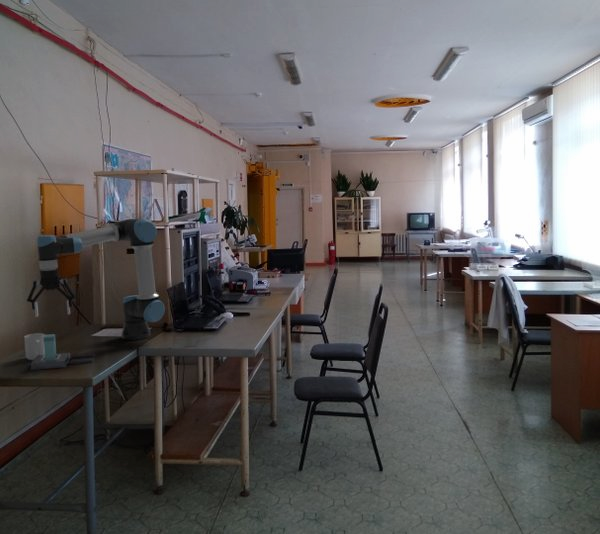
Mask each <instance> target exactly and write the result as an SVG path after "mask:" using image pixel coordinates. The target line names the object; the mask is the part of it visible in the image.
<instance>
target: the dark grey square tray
mask: <svg viewBox="0 0 600 534" xmlns="http://www.w3.org/2000/svg"><path fill="white" fill-rule="evenodd" d="M95 357H96V354H94V353H92V354H82V355H72V356H71V359H70V360H69V362H68V365H79V364H91V363H93V362H94V360H95Z"/></svg>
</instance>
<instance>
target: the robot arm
mask: <svg viewBox="0 0 600 534" xmlns="http://www.w3.org/2000/svg"><path fill="white" fill-rule="evenodd" d="M157 234H158V230H157V227H156V224H154V222H152V221H151V220H150V219H145V218H134V219H133V218H128V219H125V220H120V221H117V222H114V223H109V225H108V226H102V227H99V228H93V229H89V230H88V229H87V230H84V231H79V232H74V233H73V232H72V233H69V234H68V233H67V234H63V235H60V236H59V235H58V236H56V235H54V234H44V235H43V234H42V235H39V236H37V239H36V240H37V241H36V242H37V253H38V266H39V270H40V271H39V272H40V280H33V282H32V287H31V290H30V292H29V294H28V297H27V299H26V301H27V302H29V303H31V307H32V308H31V310H33V311H34V315H35V316H34V317H35V318H38V317H39V305H38V301H37V300H38V298H39V297H40V295H42V293H43V292H44V291H49V290H51V291H53V290H57V291H58V292H59V293H61V295H63V296H64V297H65V298H66V308H67V315H68V316H69V315H71V307H73V299H75V298H76V293H74V291H73V289H72V288H71V287H70V284H69V283H68V280H67V278H63V279H60V274H59V269H58V268H59V263H58V256H61V255H73V254H74V255H75V254H79V253H81V252H83V251H82V250H83V248H84V247H89V246H93V245H96V244H102V243H107V242H111V241H112V242H124V241H125V242H128V241H129V243H130V247H131V248H132V249H133V250H134V251H133V252H134V260H135V269H136V270H135V271H136V278H137V287H138V294H134V295H128V296H124V297H123V299H122V307H123V308H122V309H123V321H124V323H123V328H122V331H121V339H122V340H125V341H137V340H144V339H147V338H149V337H151V330H150V327H149V325H148V323H155V322H159V321H160V320H161V319H162V317H163V316H164V314H165V310H166V308H165V304H164V302H162V301H161V299H160V294H159V293H158V292H157V291H156V282H155V271H154V261H153V260H154V259H153V252H152V247H153V246H154V245H155V243H154V240H155V239H156V237H157ZM60 283H61V284H62V285H63V286H64V287H65V289H66V291H67V292H68V293H67V292H66V291H65V290H64V289H63V287H61V286H60ZM39 285H41V286H42V287H41V288H40V290H39V291H38V292H37V294H36V295H35V296H34V294H35V292H36V289H37V286H39ZM33 296H34V297H33Z"/></svg>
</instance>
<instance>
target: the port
mask: <svg viewBox="0 0 600 534" xmlns="http://www.w3.org/2000/svg"><path fill="white" fill-rule="evenodd" d="M56 355H57V358H56V359H46V360H45V355H38V356H37V357H36V358H35V359H34V360H31V362H30V370H31V371H35V370H36V371H37V370H50V369H59V368H60V369H61V368H66V367H67V365H68V364H69V361H71V352H59V353H56Z"/></svg>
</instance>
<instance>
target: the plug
mask: <svg viewBox="0 0 600 534" xmlns="http://www.w3.org/2000/svg"><path fill="white" fill-rule="evenodd" d="M56 345H57V344H56V334H53V333H51V334H45V336H44V348H45V360H46V359H56V358H57V355H56V354H57V346H56Z"/></svg>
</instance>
